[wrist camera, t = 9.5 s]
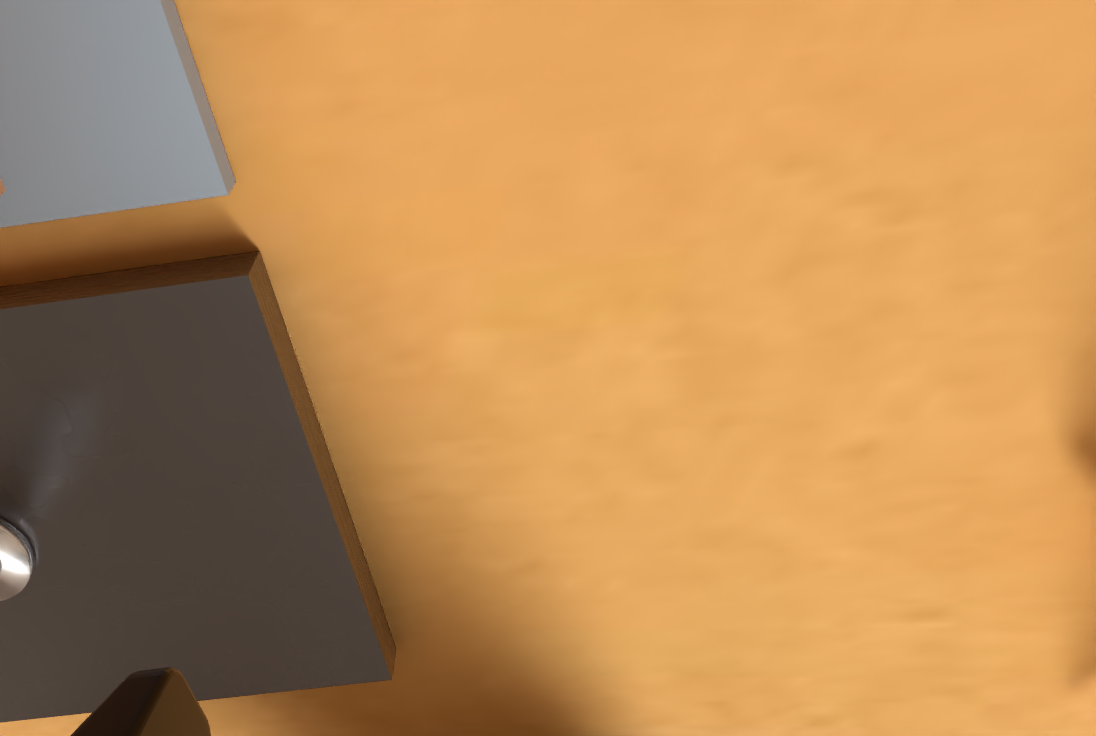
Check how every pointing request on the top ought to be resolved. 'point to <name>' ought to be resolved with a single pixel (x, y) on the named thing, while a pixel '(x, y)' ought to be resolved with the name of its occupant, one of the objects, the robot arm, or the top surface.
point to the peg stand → (169, 496)
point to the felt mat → (101, 111)
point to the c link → (2, 187)
